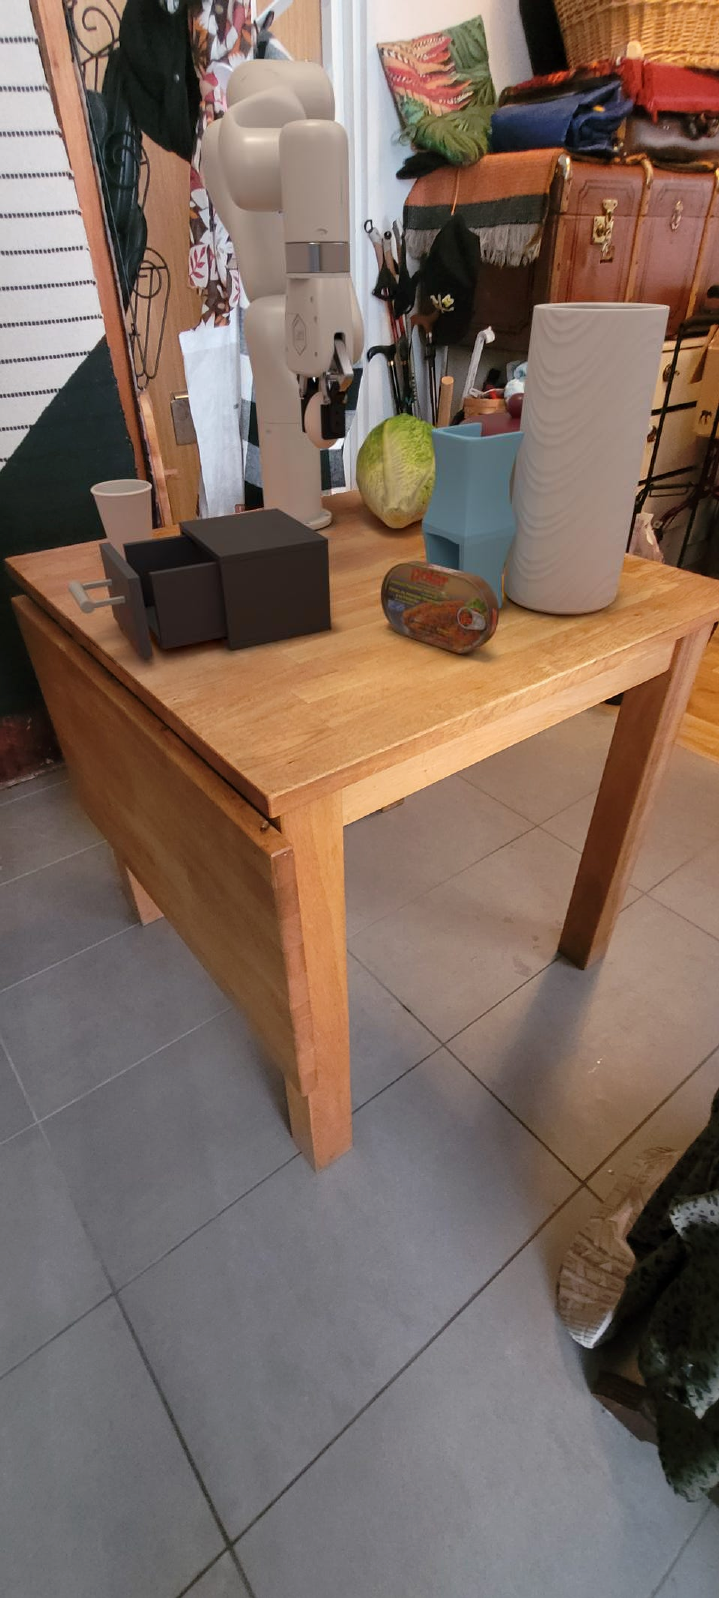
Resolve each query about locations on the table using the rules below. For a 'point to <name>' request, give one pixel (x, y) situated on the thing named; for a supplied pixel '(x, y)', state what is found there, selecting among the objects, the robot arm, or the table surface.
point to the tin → (439, 606)
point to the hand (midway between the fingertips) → (323, 433)
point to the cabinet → (267, 575)
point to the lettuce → (397, 470)
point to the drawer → (160, 592)
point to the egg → (316, 423)
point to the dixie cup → (125, 511)
